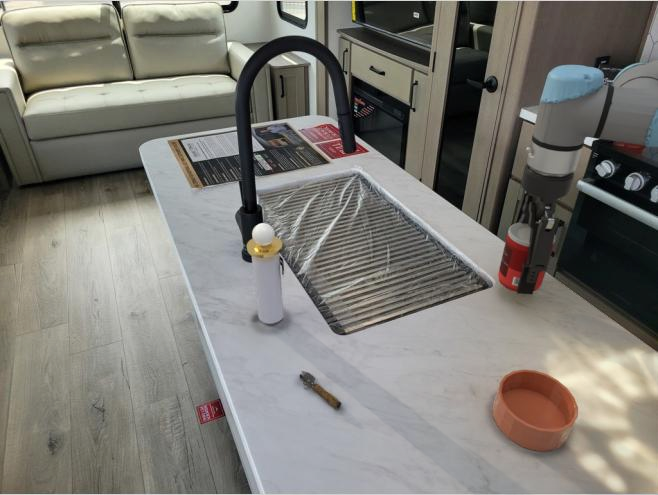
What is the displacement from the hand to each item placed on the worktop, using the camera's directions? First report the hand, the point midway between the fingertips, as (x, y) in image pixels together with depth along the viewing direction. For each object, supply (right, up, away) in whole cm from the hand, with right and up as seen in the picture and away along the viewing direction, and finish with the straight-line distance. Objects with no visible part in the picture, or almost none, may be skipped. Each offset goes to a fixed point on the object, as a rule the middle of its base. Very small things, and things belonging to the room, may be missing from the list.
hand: (519, 278), depth 90 cm
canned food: (0, -1, 0) cm, 1 cm away
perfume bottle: (-47, -7, -3) cm, 47 cm away
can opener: (-37, -16, -17) cm, 44 cm away
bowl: (-7, -19, -21) cm, 29 cm away
